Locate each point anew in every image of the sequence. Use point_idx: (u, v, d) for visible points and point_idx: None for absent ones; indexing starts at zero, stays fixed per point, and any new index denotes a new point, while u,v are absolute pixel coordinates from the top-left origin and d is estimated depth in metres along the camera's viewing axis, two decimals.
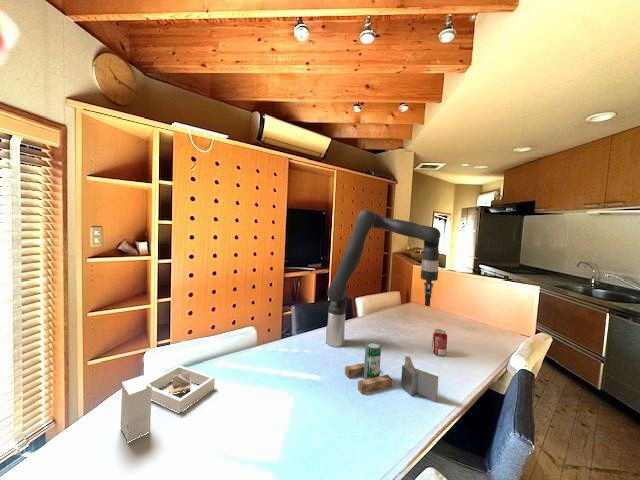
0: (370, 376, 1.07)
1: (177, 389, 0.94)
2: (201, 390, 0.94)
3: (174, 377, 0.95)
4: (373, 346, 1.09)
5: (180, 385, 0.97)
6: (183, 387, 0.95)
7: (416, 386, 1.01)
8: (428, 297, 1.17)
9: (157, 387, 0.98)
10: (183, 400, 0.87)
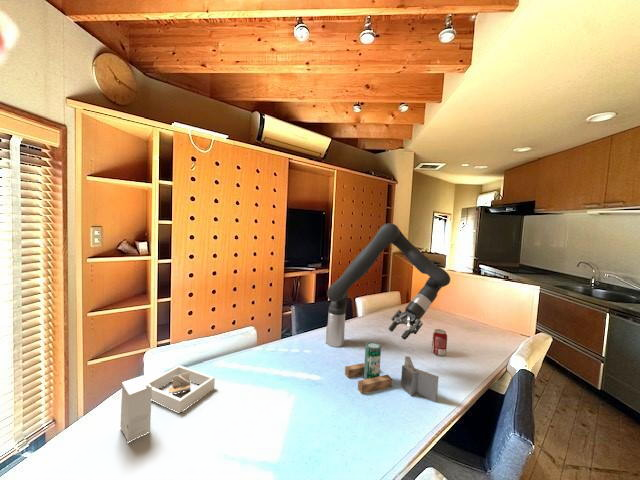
0: (370, 376, 1.07)
1: (177, 389, 0.94)
2: (201, 390, 0.94)
3: (174, 377, 0.95)
4: (373, 346, 1.09)
5: (180, 385, 0.97)
6: (183, 387, 0.95)
7: (416, 386, 1.01)
8: (413, 332, 1.08)
9: (157, 387, 0.98)
10: (183, 400, 0.87)
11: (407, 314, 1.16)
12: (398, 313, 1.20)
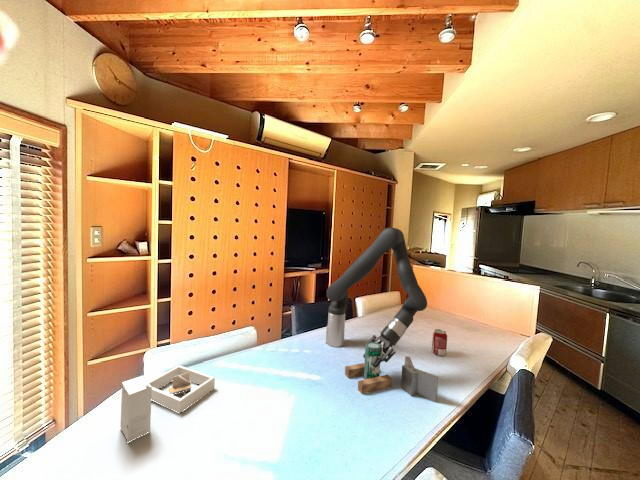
0: (370, 376, 1.07)
1: (178, 389, 0.94)
2: (201, 390, 0.94)
3: (174, 377, 0.95)
4: (373, 346, 1.09)
5: (180, 385, 0.96)
6: (183, 387, 0.95)
7: (416, 386, 1.01)
8: (384, 360, 1.05)
9: (157, 387, 0.98)
10: (183, 400, 0.87)
11: (382, 339, 1.12)
12: (373, 338, 1.15)
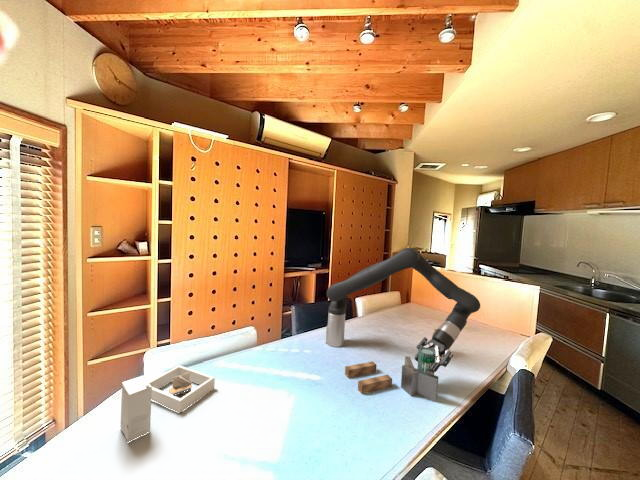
0: None
1: (178, 390, 0.93)
2: (201, 390, 0.94)
3: (174, 378, 0.95)
4: (427, 352, 1.05)
5: (180, 386, 0.96)
6: (184, 387, 0.95)
7: (416, 386, 1.01)
8: (443, 365, 1.00)
9: (157, 387, 0.98)
10: (183, 400, 0.87)
11: (434, 343, 1.08)
12: (424, 341, 1.12)
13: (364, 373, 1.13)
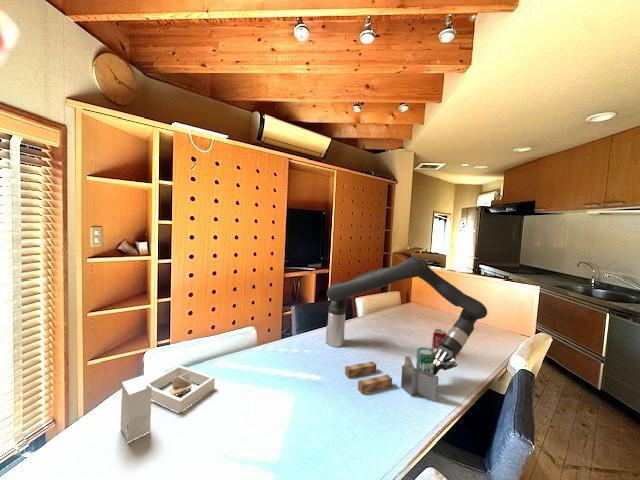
0: None
1: (179, 390, 0.93)
2: (201, 390, 0.94)
3: (174, 378, 0.94)
4: (425, 352, 1.05)
5: (180, 386, 0.96)
6: (184, 387, 0.95)
7: (416, 386, 1.01)
8: (443, 368, 1.06)
9: (157, 387, 0.98)
10: (183, 400, 0.87)
11: (443, 349, 1.10)
12: (433, 351, 1.13)
13: (364, 373, 1.13)
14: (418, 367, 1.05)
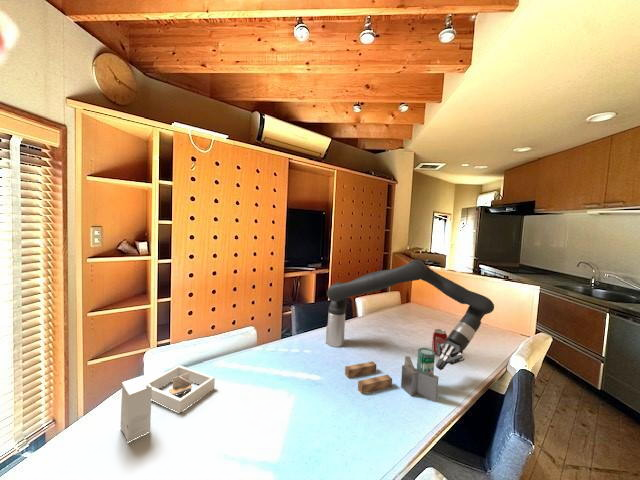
0: None
1: (179, 390, 0.93)
2: (201, 390, 0.94)
3: (174, 378, 0.94)
4: (426, 352, 1.05)
5: (180, 386, 0.96)
6: (185, 387, 0.95)
7: (416, 386, 1.01)
8: (450, 363, 1.06)
9: (157, 387, 0.98)
10: (183, 400, 0.87)
11: (450, 344, 1.11)
12: (440, 346, 1.13)
13: (364, 373, 1.13)
14: (419, 367, 1.05)
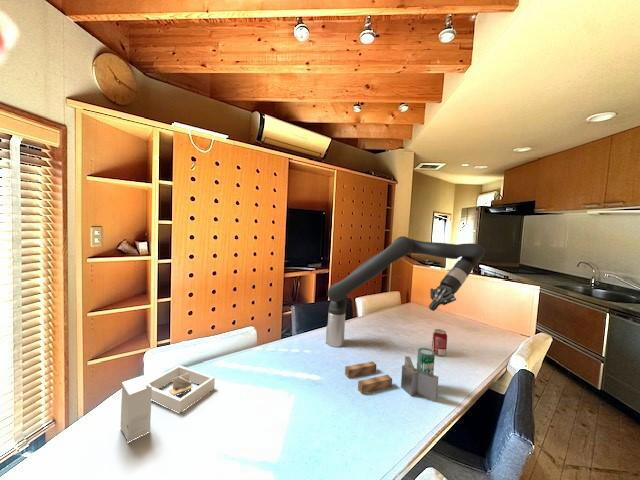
0: None
1: (179, 390, 0.93)
2: (201, 390, 0.94)
3: (175, 379, 0.94)
4: (426, 352, 1.05)
5: (180, 386, 0.96)
6: (185, 388, 0.95)
7: (416, 386, 1.01)
8: (442, 303, 1.11)
9: (157, 387, 0.98)
10: (183, 400, 0.87)
11: (443, 288, 1.15)
12: (433, 290, 1.18)
13: (364, 373, 1.13)
14: (418, 367, 1.05)
